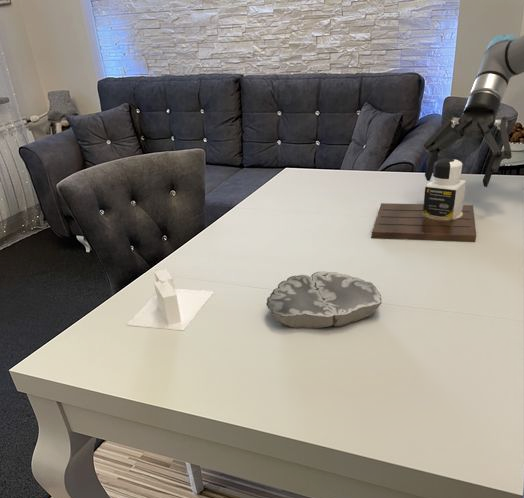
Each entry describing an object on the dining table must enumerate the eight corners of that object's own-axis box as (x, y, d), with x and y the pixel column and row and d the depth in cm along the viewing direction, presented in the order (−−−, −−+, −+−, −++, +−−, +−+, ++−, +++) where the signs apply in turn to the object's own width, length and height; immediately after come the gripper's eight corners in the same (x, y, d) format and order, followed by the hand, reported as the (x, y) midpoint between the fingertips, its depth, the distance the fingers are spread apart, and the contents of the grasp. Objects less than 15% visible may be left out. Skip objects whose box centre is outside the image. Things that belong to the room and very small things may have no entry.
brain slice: (358, 280, 103) (358, 266, 101) (391, 323, 89) (392, 307, 87) (258, 294, 101) (256, 280, 99) (275, 340, 86) (274, 324, 85)
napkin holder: (184, 330, 91) (179, 300, 88) (125, 325, 94) (118, 296, 91) (214, 291, 103) (211, 263, 100) (161, 287, 106) (156, 260, 103)
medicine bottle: (422, 215, 125) (427, 163, 119) (433, 206, 130) (438, 155, 123) (452, 219, 121) (459, 165, 115) (462, 210, 126) (469, 158, 120)
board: (472, 211, 130) (473, 204, 129) (475, 241, 114) (476, 234, 113) (380, 208, 136) (380, 202, 135) (371, 238, 120) (371, 230, 119)
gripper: (541, 112, 124) (512, 194, 122) (436, 109, 137) (408, 183, 135) (540, 90, 118) (509, 177, 116) (430, 89, 131) (401, 167, 129)
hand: (455, 180), depth 126 cm, fingers open, 13 cm apart
